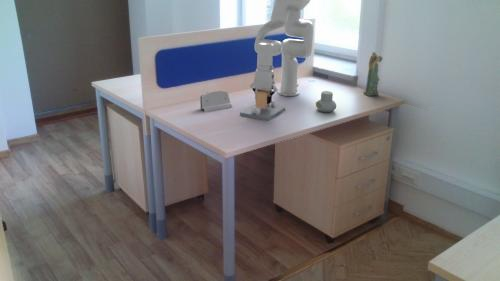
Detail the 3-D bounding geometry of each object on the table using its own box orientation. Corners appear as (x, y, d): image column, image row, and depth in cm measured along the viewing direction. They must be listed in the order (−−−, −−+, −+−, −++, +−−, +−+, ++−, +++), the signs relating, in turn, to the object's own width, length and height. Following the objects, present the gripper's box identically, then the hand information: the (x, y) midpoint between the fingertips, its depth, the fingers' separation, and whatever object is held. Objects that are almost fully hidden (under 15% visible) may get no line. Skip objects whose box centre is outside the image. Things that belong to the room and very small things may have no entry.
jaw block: (261, 100, 253) (261, 87, 250) (270, 101, 252) (271, 88, 249) (255, 107, 242) (255, 93, 240) (265, 108, 241) (265, 94, 238)
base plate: (258, 104, 261) (258, 96, 259) (285, 109, 253) (285, 101, 252) (240, 115, 244) (240, 106, 243) (267, 120, 237) (268, 112, 235)
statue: (380, 94, 283) (386, 52, 273) (370, 96, 278) (375, 54, 269) (372, 91, 288) (377, 50, 278) (361, 93, 284) (366, 51, 274)
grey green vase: (313, 108, 257) (315, 90, 253) (327, 106, 260) (329, 89, 256) (323, 114, 248) (325, 96, 244) (337, 113, 250) (339, 94, 247)
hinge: (204, 111, 248) (201, 92, 247) (200, 112, 252) (197, 93, 251) (232, 107, 256) (229, 88, 255) (228, 107, 260) (225, 89, 259)
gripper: (283, 68, 239) (281, 103, 246) (253, 64, 247) (252, 97, 253) (276, 71, 233) (275, 107, 240) (245, 66, 241) (245, 101, 247)
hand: (263, 101), depth 247 cm, fingers closed on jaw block, 5 cm apart
